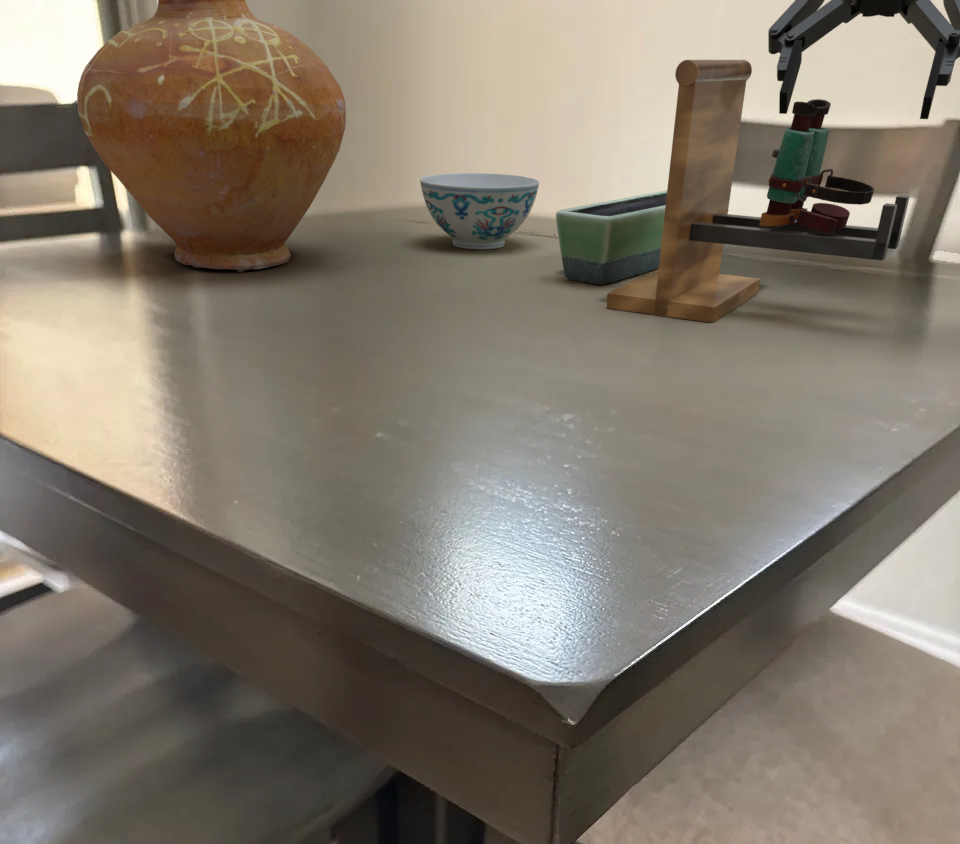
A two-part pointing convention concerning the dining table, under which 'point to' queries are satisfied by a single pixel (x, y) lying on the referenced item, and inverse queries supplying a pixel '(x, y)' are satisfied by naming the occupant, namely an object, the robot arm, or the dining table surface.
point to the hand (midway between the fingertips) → (852, 106)
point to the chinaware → (479, 206)
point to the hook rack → (724, 208)
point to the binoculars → (809, 176)
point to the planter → (612, 238)
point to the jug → (214, 128)
